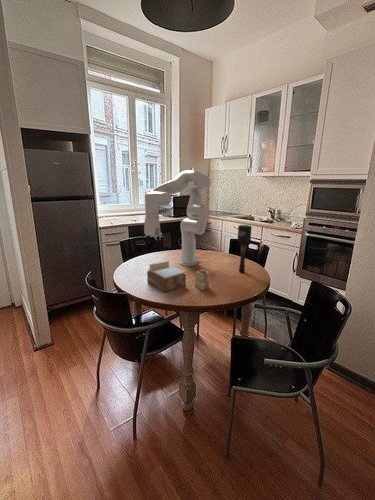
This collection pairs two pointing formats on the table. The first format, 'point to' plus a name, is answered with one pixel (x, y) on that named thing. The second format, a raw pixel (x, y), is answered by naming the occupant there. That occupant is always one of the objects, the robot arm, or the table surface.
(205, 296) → the table surface
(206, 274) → the cream upright block
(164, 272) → the lid
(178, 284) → the toolbox
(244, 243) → the potato masher grenade
